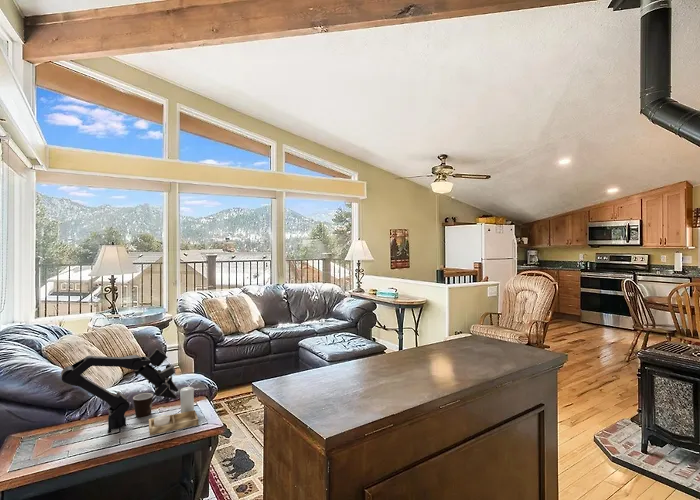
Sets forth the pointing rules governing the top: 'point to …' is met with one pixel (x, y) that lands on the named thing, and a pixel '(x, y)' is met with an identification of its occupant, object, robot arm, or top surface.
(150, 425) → the open wooden box
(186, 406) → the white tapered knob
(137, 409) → the coffee mug
